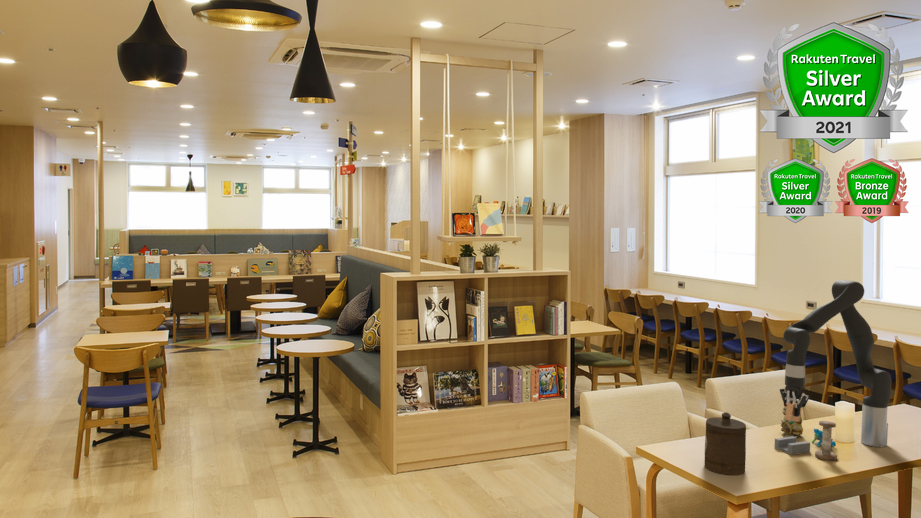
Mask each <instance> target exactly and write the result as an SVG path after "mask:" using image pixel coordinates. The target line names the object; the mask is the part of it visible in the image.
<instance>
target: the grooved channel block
mask: <svg viewBox="0 0 921 518" xmlns="http://www.w3.org/2000/svg"><path fill="white" fill-rule="evenodd" d="M797 438H798V437H793V436H783V437H777V438H774V448H775V449H777V450H780V451H781V450H782V452H785V453H787V454H788V455H791V456H792V455H799V454H806V453H810V452H811V442H809V441H807V440H804V441H798V440H797Z"/></svg>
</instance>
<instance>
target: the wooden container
mask: <svg viewBox="0 0 921 518" xmlns="http://www.w3.org/2000/svg"><path fill="white" fill-rule="evenodd" d="M731 417H732V415H731V414H730V413H729V412H726V411H725V412H722V413H721V417H718V416H717V417H709V418H707V419H706V421H705V440H704V468H706V469H707V470H709V471H711V472H713V473H717V474H721V475H727V476H738V475H742V474H744V473H745V472H746V461H747V460H746V458H747V457H746V454H747V452H746V451H747V449H746V447H747V446H746V445H747V444H746V439H747V438H746V437H747V436H746V435H747V434H746V433H747V425H746V423H745V422H743V421H740V420H737V419H735V418H734V419H733V418H731Z"/></svg>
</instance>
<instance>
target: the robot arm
mask: <svg viewBox="0 0 921 518" xmlns="http://www.w3.org/2000/svg"><path fill="white" fill-rule="evenodd" d="M831 295H832V297H833V300H831V301H830V302H828V303H825V304H823V305H820V306H819V307H816V308H815V309H814V310H812V311H810V312H809V313H808V314H807V315H806V316H805V317H804V318H803V319H800V320H799V321H797V322H794V323H793V324H791V325H789V326H788V327H787V328H786V329H785V330H784V333H783V340H784V341H785V343H787V344H791V345H794V346H793V349H790V350H787V352H786V359H785V362H786V363H785V373H784V385H785V387H784V388H780V389H779V393H780V396H781V399H782V402H783V404H784V403H786V404H788V403H794V404H795V414H794V416H795V417H798V416H799V415H800V408H802V409H803V408H805V407H806V405H807V404H808V401H809V400H810V395H809V394H808V395H807V394H805V389H804V388H805V385H806V355H807V352H808V349H809V346H810V343H811V336H810V333H811V334H812V333H816V332H818V330H819V329H821V328H822V327H823V326H824V325H825V324H826V323H828V322H829V321H830V320H831V319H833V318H835V317H836V316H837V315H839V314H840V316H841V319H842V322H843V325H844V327H845V330H846V335H847V338H848V341H849V343H850V346H851V350H852V354H853V357H854V360H855V365H856V369H857V376H858V379H859V382H860V384H861V385H862V386H863V387H865V388H867V389H871V395H868V396H863V398H862V406H861V407H862V411H861V431H860V433H861V434H860V436H861V437H860V442H861V443H862V444H864V445H865V446H869V447H875V448H885V447H886V446H887V445H888V436H889V434H888V432H889V424H888V423H887V422H888V406H889V405H888V404H889V403H890V401H891V400H890V399H891V393H892V383H893V382H892V377H891V374H890V372H888V371H886V370H883V369H879V368H875V366H874V363H873V360H872V357H871V356H872V353H873V352H872V351H873V348H874V346H875V338H874V335H873V332H872V328H871V325H870V324H869V323H868V321H867V320H866V319H865V318H864V317H863V315H862V314H861V313H860V312H859V311H858V310H857V308H856V305H855V304H857V303H858V302H859V301H861V300H862V298H863V297H864V295H865V288H864V286H863V284H862V283H860V282H859V281H854V280H846V279H842V280H841V279H838V280H836V281H834V282H833V284H832V285H831Z"/></svg>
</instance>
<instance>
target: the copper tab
mask: <svg viewBox="0 0 921 518" xmlns="http://www.w3.org/2000/svg"><path fill="white" fill-rule="evenodd" d="M802 409H803V407H802V408H800V415H801V416H802ZM794 414H795V404H794V402H793V403H788V404H787V409H786V415H784V417H785V419H787V420H790V421H796V422H799V421H800V415H799V416H798V417H795V416H794Z"/></svg>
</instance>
